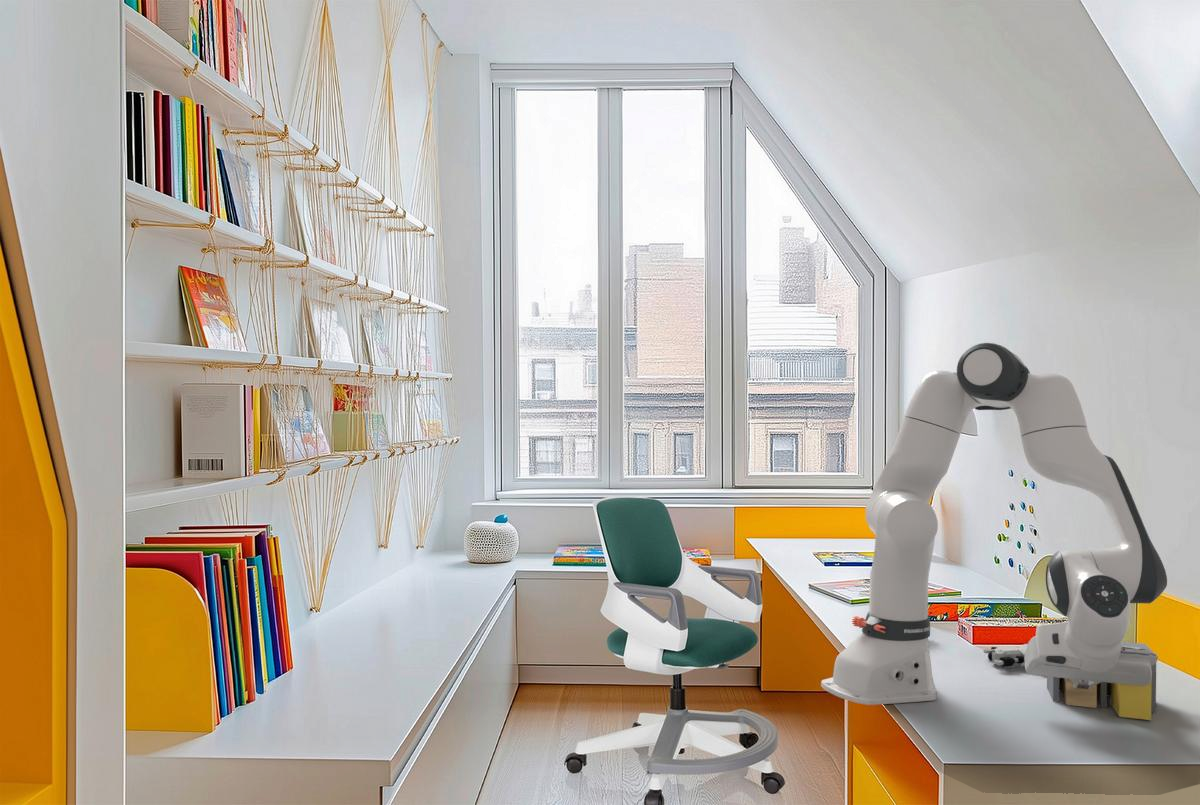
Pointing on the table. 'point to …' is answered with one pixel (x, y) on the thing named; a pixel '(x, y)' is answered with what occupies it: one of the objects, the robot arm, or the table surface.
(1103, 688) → the grey slotted holder
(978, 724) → the table surface
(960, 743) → the table surface
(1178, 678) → the table surface
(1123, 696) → the yellow rectangular block
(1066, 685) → the light wood block
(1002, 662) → the robot toy
